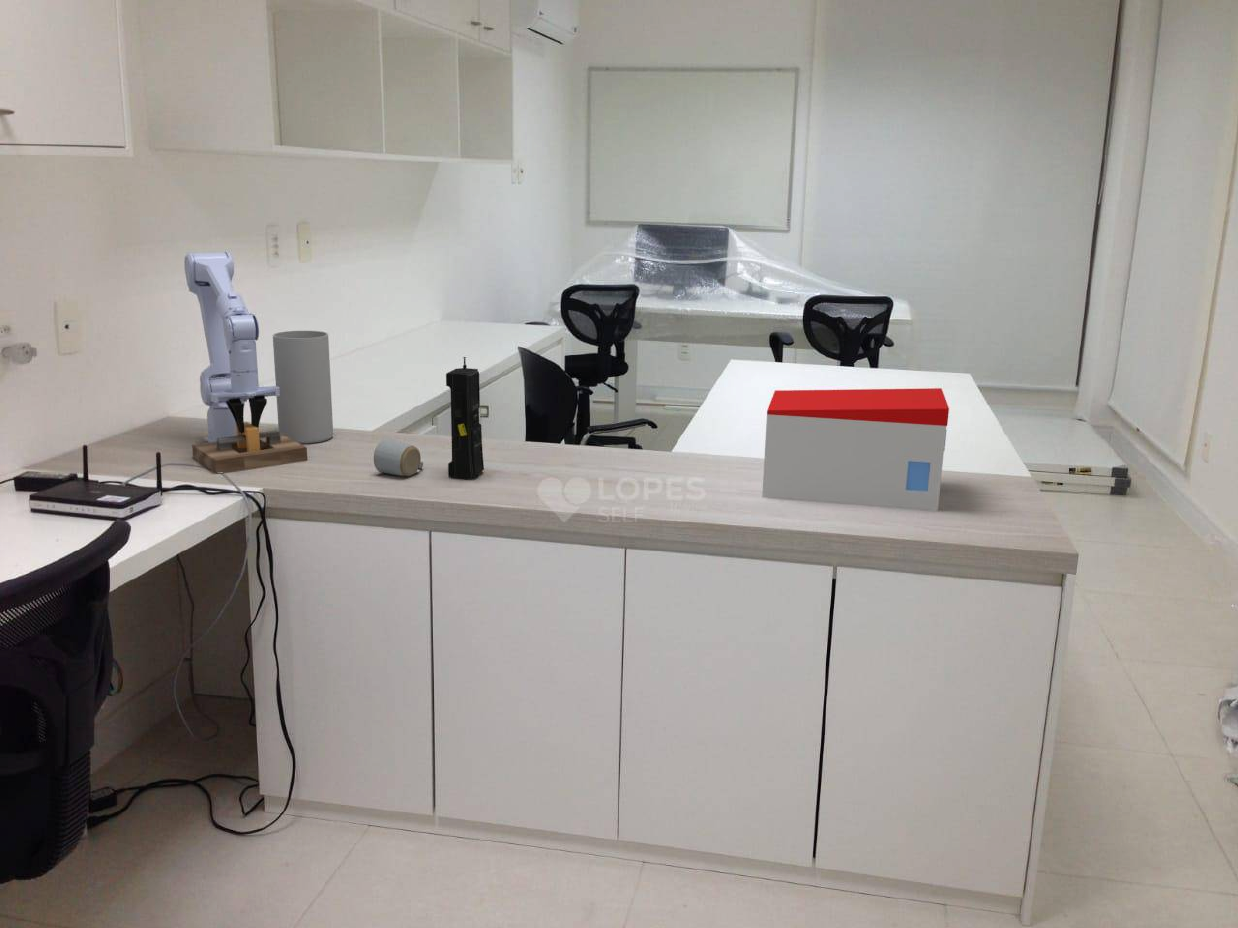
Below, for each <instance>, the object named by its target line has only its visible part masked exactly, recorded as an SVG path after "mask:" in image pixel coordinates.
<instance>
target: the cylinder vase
mask: <svg viewBox="0 0 1238 928" xmlns="http://www.w3.org/2000/svg"><path fill="white" fill-rule="evenodd" d="M329 345H330V343H329V333H328V332H325V331H319V330H289V331H287V330H286V331H281V332H275V333H273V334H272V346H273V360H274V361H273V363H274V364H273V365H274V376H275V377H274V378H275V386H277V387H279V391H280V396H276V408H277V424H278V426H277V427H278V431H279V432H280V433H281V434H283V435H285V436H286V437H288V438H290V439H292V440H294V441H296V442H298V443H300V444H301V445H307V444H317V443H322V442H326V441H328V440H330V439H332V438H333V436H334V425H333V424H334V423H333V405H332V404H333V403H332V385H331V380H332V379H331V365H330V364H331V363H330V346H329Z"/></svg>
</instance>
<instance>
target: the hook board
mask: <svg viewBox="0 0 1238 928" xmlns="http://www.w3.org/2000/svg"><path fill="white" fill-rule="evenodd" d="M241 440H246V435H238V436H230V437H223V438H217V441H215V442H208V441H207V442H202V443H201V442H200V443H193V444H192V445H191V448H192V449H191V450H192V451H191V452H192V458H193V459H194V460H196V461H197V462H199V463H200V464H202V465H203V466H205V467H206V468H207V469H208V470H210V469H212V470H211V471H212V472H213V473H214V474H216V475H219V473H218V472H223V473H222V474H225V473H226V474H227V473H232V472H240V471H247V470H252V469H260V468H267V467H272V466H278V465H279V466H280V465H285V464H291V463H293V464H295V463H299V462H305V461H308V460H309V459H308V447H307V446H305V445H304V444H300V443H298V442H296V441H294V440H292V439H290V438H288V437H286V436H285V435H283V434H281V433H280V432H279V430H270V431H269V430H268V431H264V432H263V431H261V432H259V440H260V450H259V451H252V452H247V448H238V447H237V441H241Z"/></svg>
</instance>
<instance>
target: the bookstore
mask: <svg viewBox="0 0 1238 928" xmlns="http://www.w3.org/2000/svg"><path fill="white" fill-rule="evenodd" d="M949 413H950V407H949V404H948V402H947V400H946V396H945V394H944V391H943V388H942V387H940V388H939V387H937V388H935V387H934V388H870V389H869V388H868V389H866V388H865V389H864V388H862V389H857V388H856V389H792V390H791V389H790V390H785V389H784V390H782V389H781V390H777V389H776V390H774V392H773V394H772V397H771V399H770V402H769V405H768V406H767V410H766V423H765V424H766V427H765V441H764V442H765V444H764V445H765V446H764V461H763V475H762V476H763V477H762V480H763V481H762V498H766V499H769V498H770V499H779V500H790V501H791V500H794V501H803V502H804V501H805V502H816V503H818V502H819V503H830V504H844V505H857V506H868V507H880V508H881V507H882V508H894V509H904V510H905V509H906V510H907V509H908V510H917V511H931V512H932V511H933V512H938V511H939V505H940V503H939V501H940V494H941V486H942V485H941V484H942V474H943V473H942V472H943V466H944V465H943V462H944V453H945V449H946V448H945V446H946V438H947V427H948V423H949V422H948V421H949Z"/></svg>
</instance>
